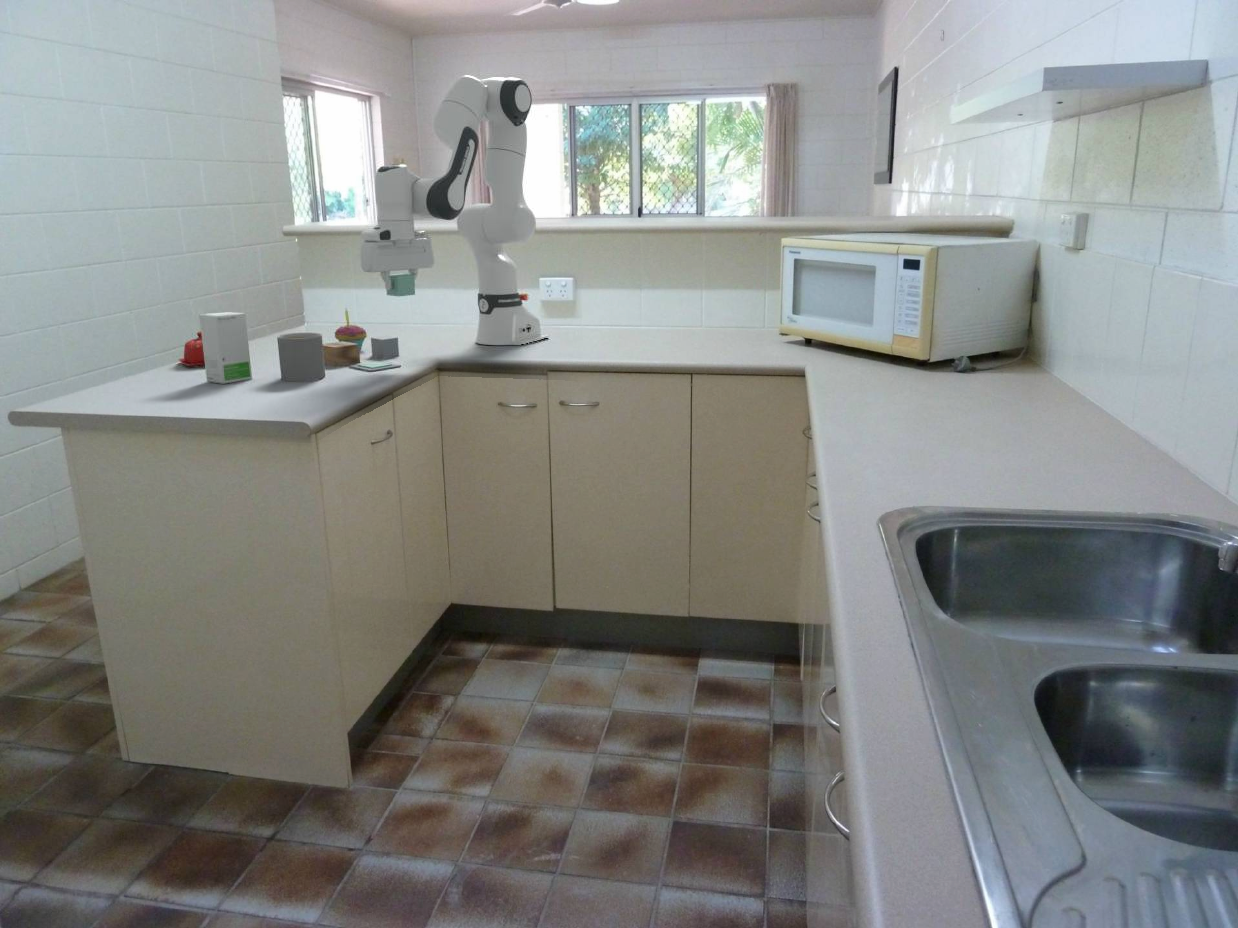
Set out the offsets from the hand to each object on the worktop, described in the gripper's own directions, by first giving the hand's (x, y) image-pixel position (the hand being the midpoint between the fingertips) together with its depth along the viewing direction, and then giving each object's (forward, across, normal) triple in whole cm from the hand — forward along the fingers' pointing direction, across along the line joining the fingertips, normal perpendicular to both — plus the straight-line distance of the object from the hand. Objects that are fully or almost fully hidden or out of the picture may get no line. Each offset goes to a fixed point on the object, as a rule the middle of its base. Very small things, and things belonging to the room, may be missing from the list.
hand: (400, 288), depth 237 cm
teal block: (+2, 0, 0) cm, 2 cm away
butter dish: (+19, +35, -37) cm, 54 cm away
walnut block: (+19, +12, -11) cm, 25 cm away
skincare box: (+19, +42, -11) cm, 47 cm away
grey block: (+19, -2, -11) cm, 22 cm away
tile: (+19, +10, +1) cm, 21 cm away
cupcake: (+19, -1, -25) cm, 31 cm away
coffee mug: (+19, +28, -2) cm, 34 cm away
